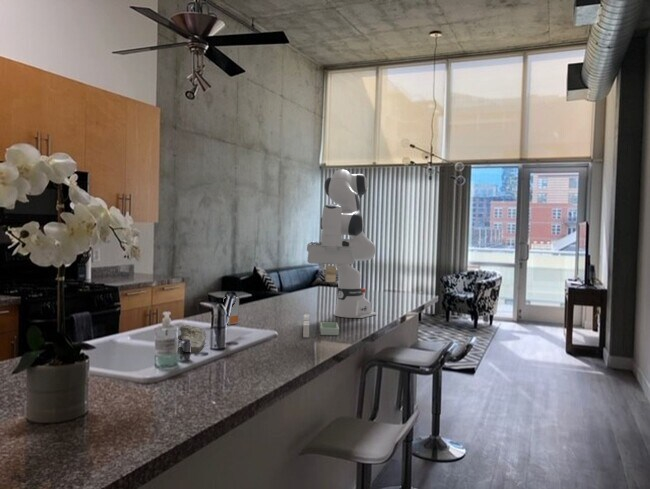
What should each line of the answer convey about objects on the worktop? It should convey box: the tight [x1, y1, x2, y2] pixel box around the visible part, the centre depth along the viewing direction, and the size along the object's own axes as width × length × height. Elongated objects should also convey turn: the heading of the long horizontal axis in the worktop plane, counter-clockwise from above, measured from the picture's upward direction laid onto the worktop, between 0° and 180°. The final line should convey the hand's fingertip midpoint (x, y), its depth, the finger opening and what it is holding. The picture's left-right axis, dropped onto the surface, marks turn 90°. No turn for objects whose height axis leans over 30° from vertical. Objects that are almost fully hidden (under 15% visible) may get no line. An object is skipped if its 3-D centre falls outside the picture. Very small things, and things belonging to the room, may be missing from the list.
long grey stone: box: [179, 324, 207, 354], centre depth 197 cm, size 35×5×10 cm
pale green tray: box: [319, 321, 340, 336], centre depth 223 cm, size 14×8×3 cm, turn 2°
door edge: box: [302, 313, 310, 338], centre depth 224 cm, size 26×2×5 cm, turn 2°
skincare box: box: [223, 296, 240, 326], centre depth 236 cm, size 6×4×12 cm
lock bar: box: [324, 265, 337, 283], centre depth 222 cm, size 10×4×6 cm, turn 2°
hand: (330, 274), depth 222 cm, fingers closed on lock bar, 4 cm apart
